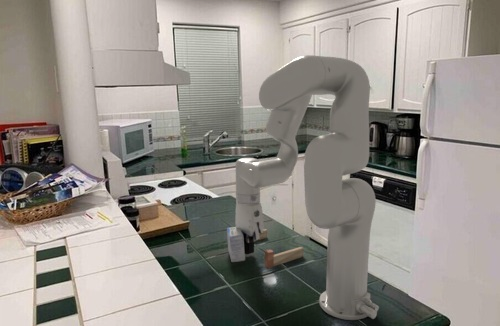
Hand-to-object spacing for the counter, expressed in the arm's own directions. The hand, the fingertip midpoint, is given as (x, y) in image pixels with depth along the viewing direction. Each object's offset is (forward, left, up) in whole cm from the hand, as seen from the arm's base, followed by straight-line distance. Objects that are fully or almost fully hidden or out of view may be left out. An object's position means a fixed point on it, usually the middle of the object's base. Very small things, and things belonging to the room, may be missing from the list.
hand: (248, 252), depth 117 cm
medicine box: (+2, +4, -1) cm, 4 cm away
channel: (0, -8, -1) cm, 8 cm away
